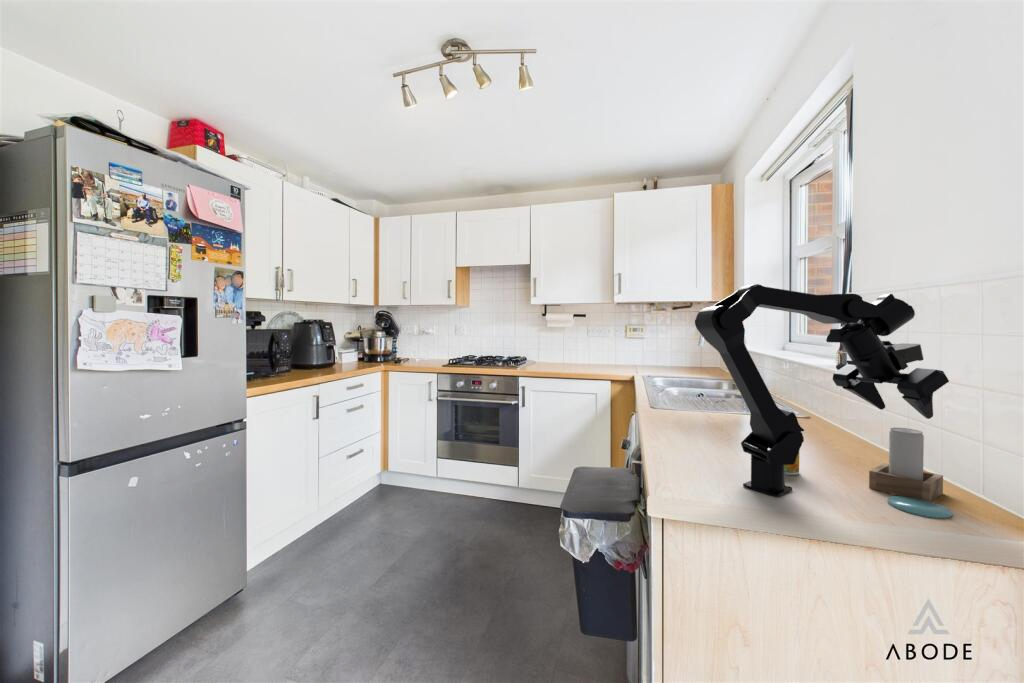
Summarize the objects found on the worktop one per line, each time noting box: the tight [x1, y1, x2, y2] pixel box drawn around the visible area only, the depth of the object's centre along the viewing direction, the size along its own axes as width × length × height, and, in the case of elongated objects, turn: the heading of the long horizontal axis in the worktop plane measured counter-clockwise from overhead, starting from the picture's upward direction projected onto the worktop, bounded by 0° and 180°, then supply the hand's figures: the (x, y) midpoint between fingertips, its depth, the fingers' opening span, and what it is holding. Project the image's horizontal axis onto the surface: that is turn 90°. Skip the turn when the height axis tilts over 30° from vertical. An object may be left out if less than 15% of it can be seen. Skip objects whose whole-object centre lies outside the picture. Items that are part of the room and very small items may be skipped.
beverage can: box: [888, 427, 925, 481], centre depth 78 cm, size 5×5×12 cm
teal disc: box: [887, 495, 953, 519], centre depth 70 cm, size 8×8×1 cm
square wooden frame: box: [868, 463, 944, 502], centre depth 78 cm, size 9×9×4 cm
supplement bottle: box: [785, 452, 800, 476], centre depth 89 cm, size 5×5×10 cm
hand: (905, 412), depth 80 cm, fingers open, 9 cm apart
